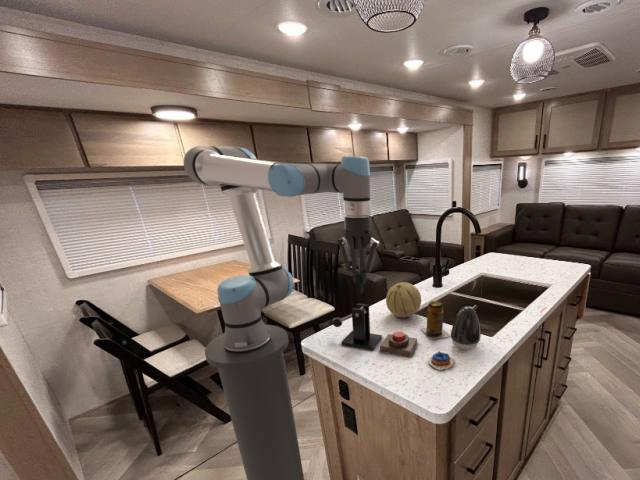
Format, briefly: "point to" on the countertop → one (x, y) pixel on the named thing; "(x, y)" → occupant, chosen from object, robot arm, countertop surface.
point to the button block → (398, 345)
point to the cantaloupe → (403, 299)
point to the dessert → (441, 361)
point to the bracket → (361, 330)
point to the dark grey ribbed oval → (466, 329)
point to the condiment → (435, 321)
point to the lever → (343, 319)
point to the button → (398, 336)
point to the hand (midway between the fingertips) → (360, 292)
